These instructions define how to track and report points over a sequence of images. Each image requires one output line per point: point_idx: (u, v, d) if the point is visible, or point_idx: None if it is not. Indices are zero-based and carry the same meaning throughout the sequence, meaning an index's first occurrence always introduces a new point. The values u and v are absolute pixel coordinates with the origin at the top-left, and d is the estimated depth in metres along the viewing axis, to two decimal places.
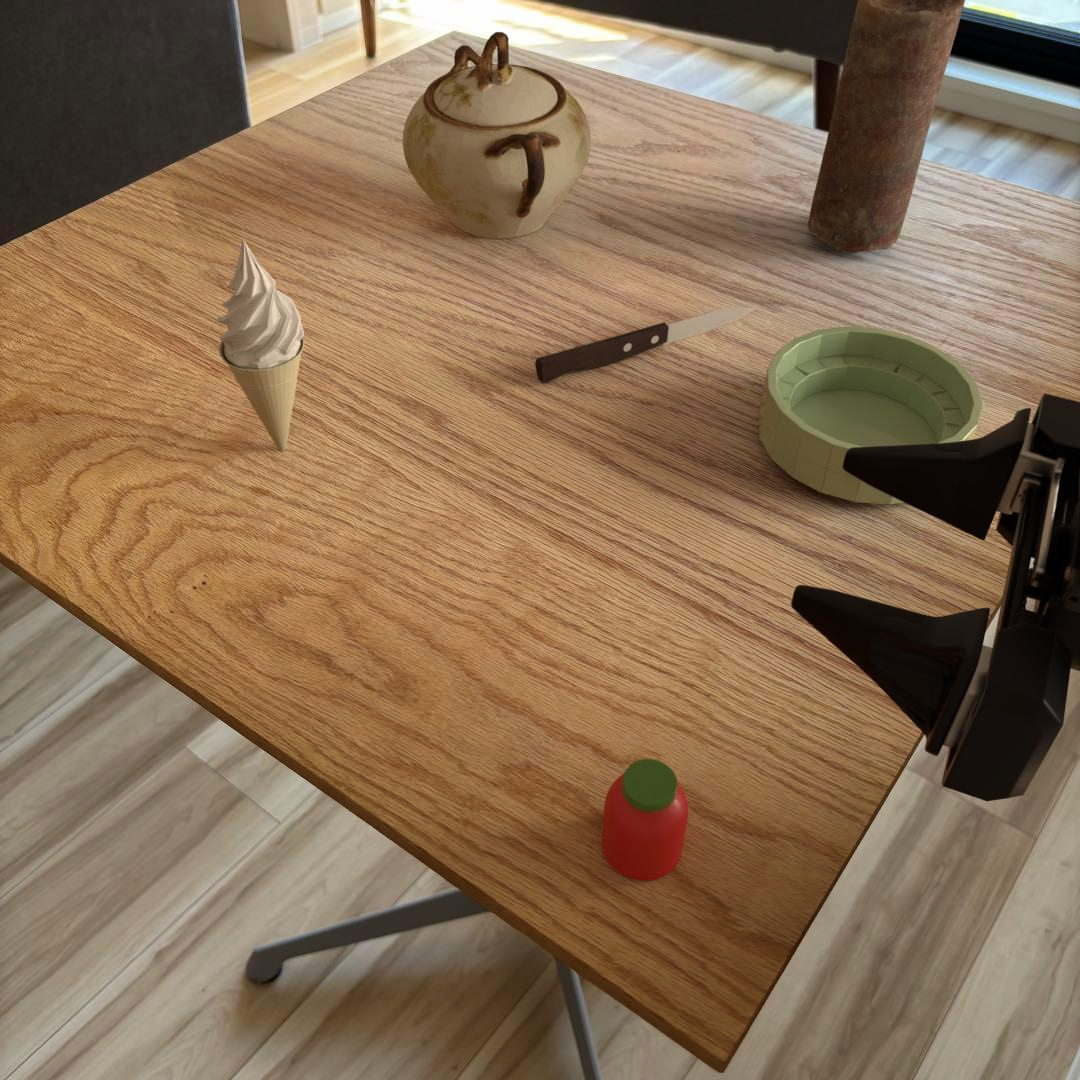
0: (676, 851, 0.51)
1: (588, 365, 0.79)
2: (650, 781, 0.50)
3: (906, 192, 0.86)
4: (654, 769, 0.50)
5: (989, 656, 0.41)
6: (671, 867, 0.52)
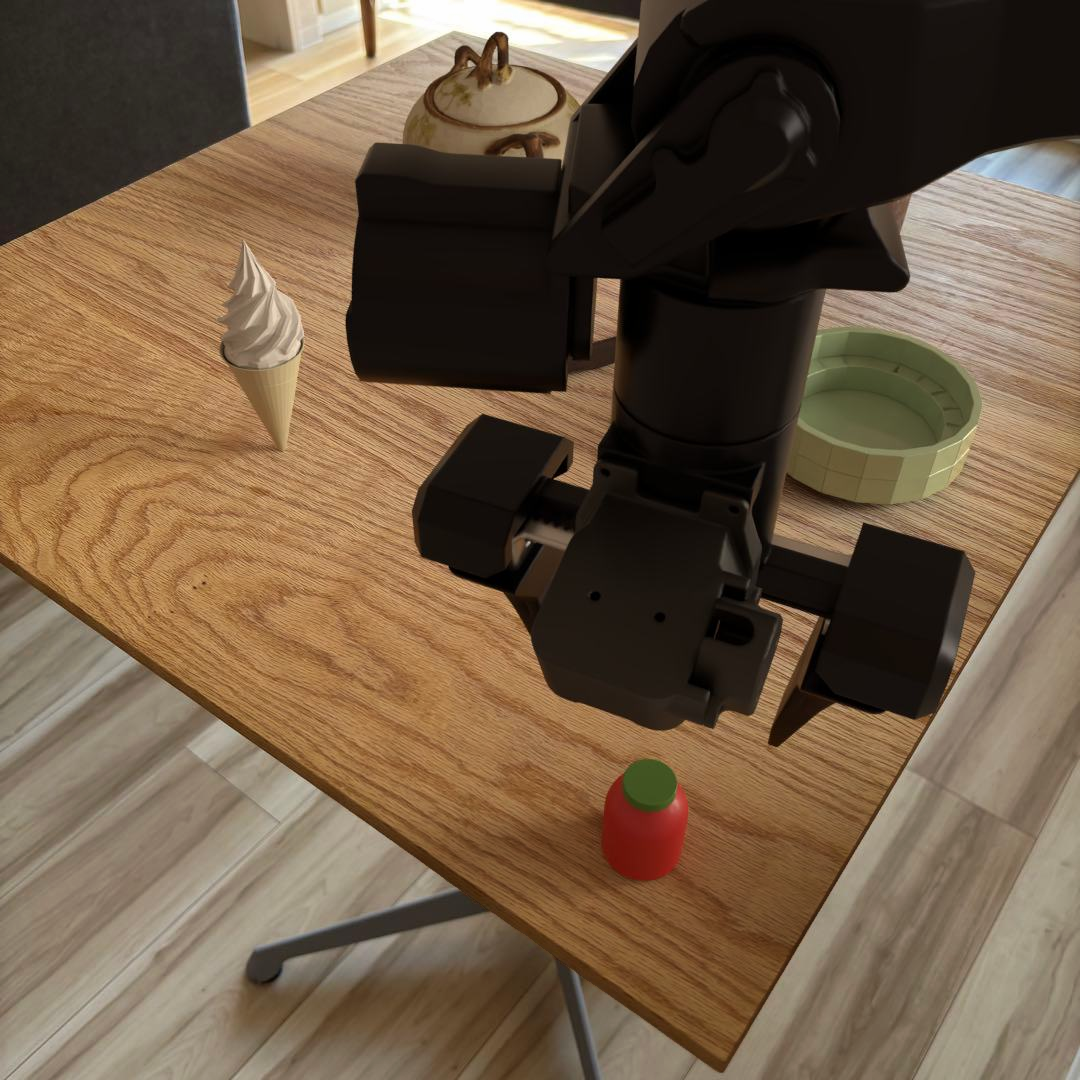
0: (676, 851, 0.51)
1: (588, 365, 0.79)
2: (650, 781, 0.50)
3: None
4: (654, 769, 0.50)
5: None
6: (671, 867, 0.52)
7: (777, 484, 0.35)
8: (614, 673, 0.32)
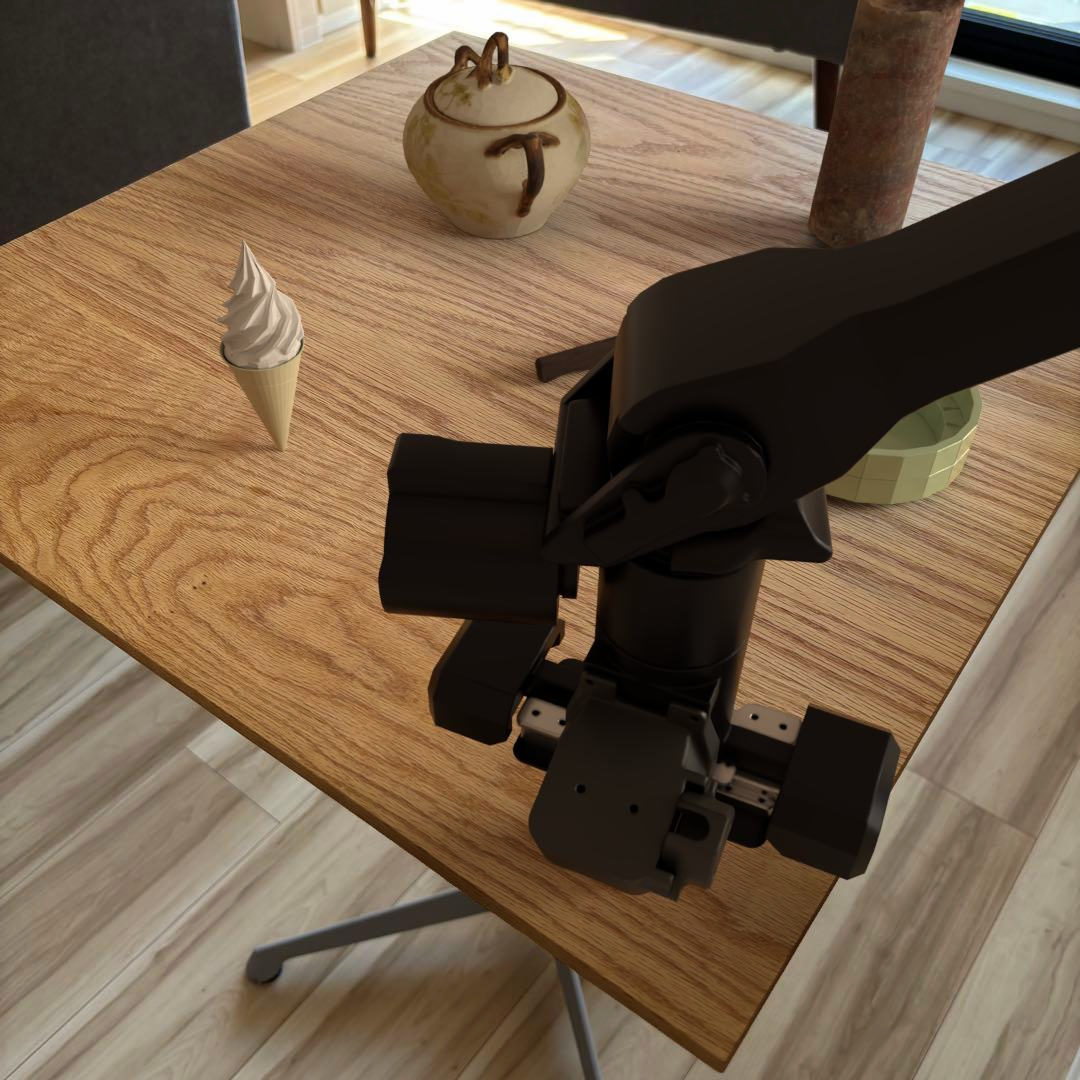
0: None
1: (588, 365, 0.79)
2: None
3: (906, 191, 0.86)
4: None
5: (727, 797, 0.45)
6: None
7: (732, 688, 0.42)
8: (596, 857, 0.39)
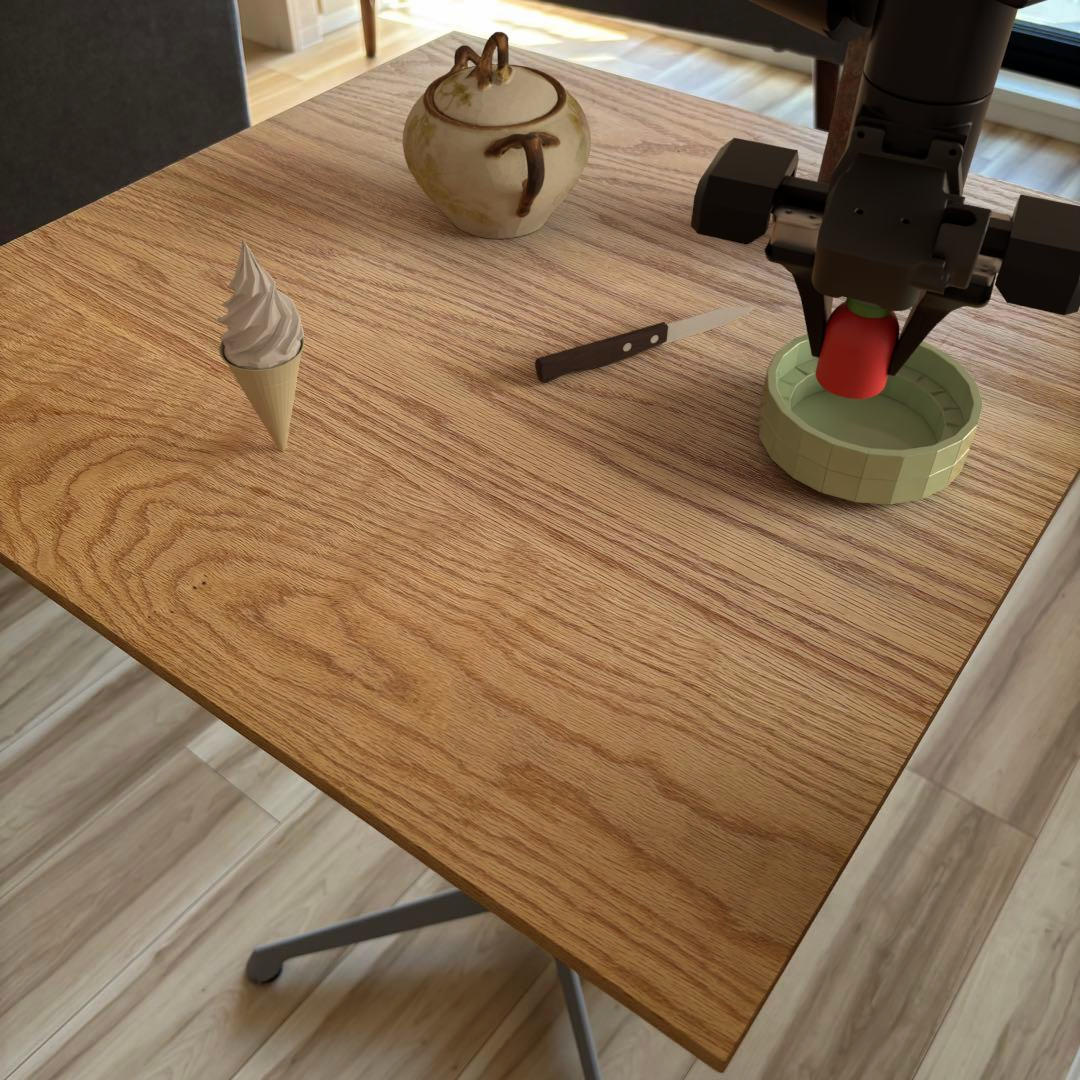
0: (887, 368, 0.60)
1: (588, 365, 0.79)
2: None
3: None
4: None
5: None
6: (880, 388, 0.61)
7: (973, 147, 0.51)
8: (879, 254, 0.48)
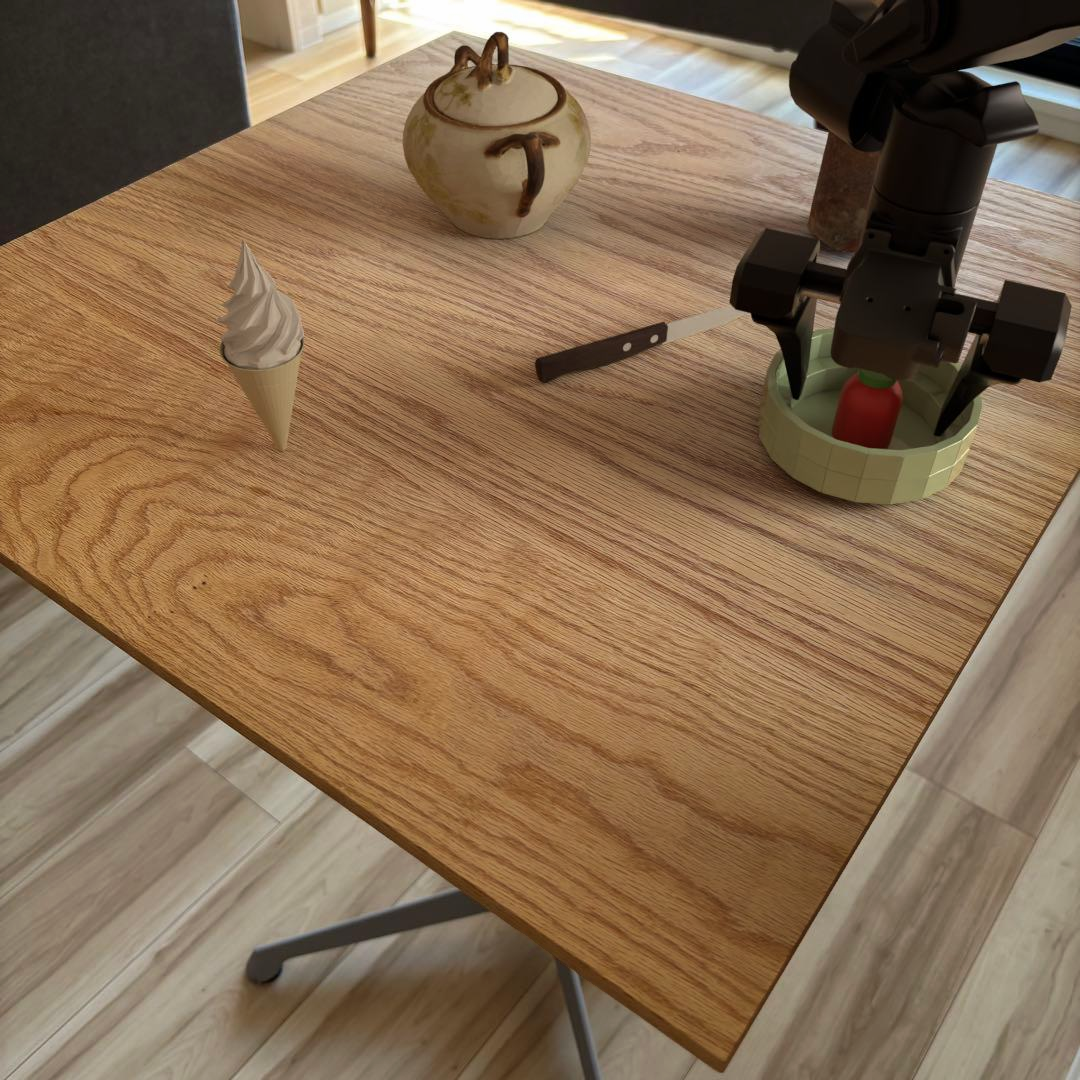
0: (892, 429, 0.72)
1: (588, 365, 0.79)
2: None
3: None
4: None
5: None
6: (886, 445, 0.73)
7: (964, 245, 0.62)
8: (885, 335, 0.59)
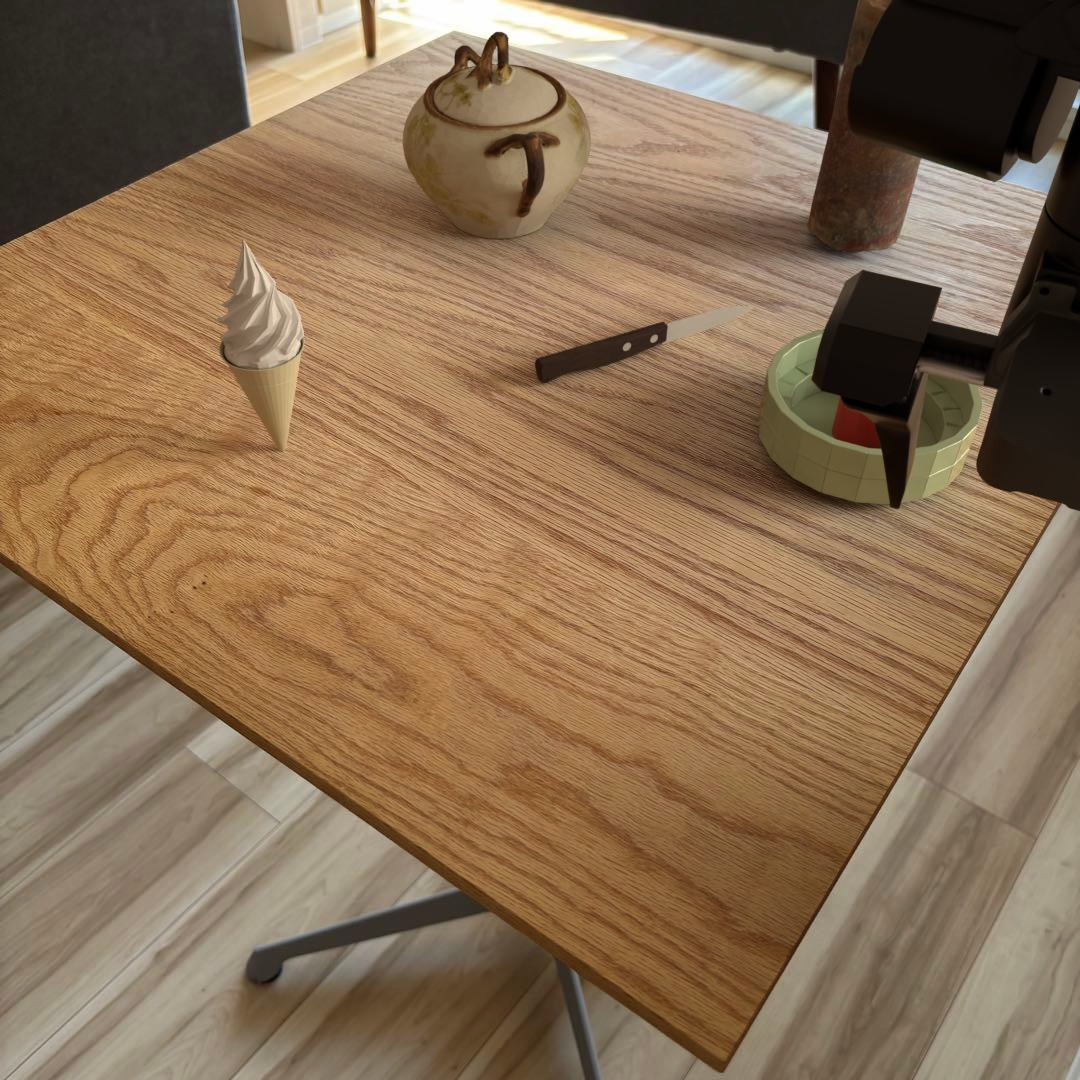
0: None
1: (588, 365, 0.79)
2: None
3: (906, 191, 0.86)
4: None
5: None
6: None
7: None
8: (1076, 451, 0.38)
